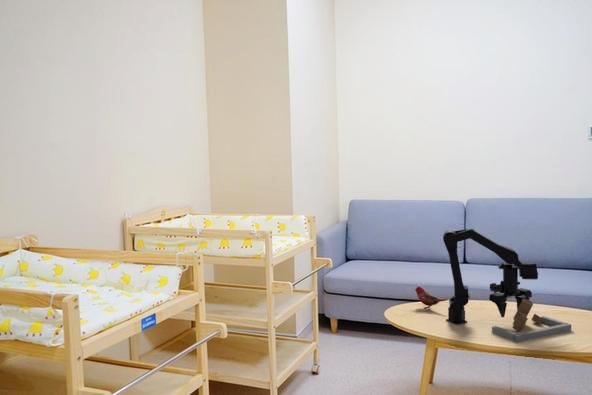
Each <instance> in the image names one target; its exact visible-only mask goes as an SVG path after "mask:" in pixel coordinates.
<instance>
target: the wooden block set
mask: <svg viewBox="0 0 592 395" xmlns="http://www.w3.org/2000/svg"><path fill="white" fill-rule="evenodd" d="M533 306H534V302H532V301H531V300H530V299H529V300H528V299H523V300H522V302H521V304H520V306H519V308H518V310H517V309H516V312H515V314H514V316H513V323H512V329H513V330H515V331H516V332H518V333H521V332H522V330H523V329H524V327H525V326H526V323H527V321H528V315H529V314H530V312H531V309H532V308H533ZM541 317H542V316H539V315H537V314H536V313H534V314H533V316H532V317H531V320H530V321H532V322H533V323H534V324H535V323H536V324H537V325H539V324H540V323H541Z"/></svg>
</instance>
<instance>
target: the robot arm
mask: <svg viewBox="0 0 592 395" xmlns="http://www.w3.org/2000/svg"><path fill="white" fill-rule="evenodd" d="M442 239H443V242H444V246H445V248H446V251H447V253H448V257H449V264H450V268H451V273H452V274H451V275H452V280H453V296H452V297H451V298H450V299H449V300H448V302H449V307H447V309H448V310H447V312H448V313H447V316H448V317H447V318H446V319H445V321H446V322H448V323H452V324H453V325H460V324H464V323H467V322H468V321H467V320H466V310H465V306H467V305H468V303H469V299H470V298H471V296H470V294H469V286H468V285H464V282H463V277H462V273H461V272H462V271H461V267H460V266H461V265H460V261H459V256H458V242H462V241H466V240H469V239H470V240H472V241H474V242H476V243H478V244H479V245H481V246H482V247H485V248H486V249H488V250H489V251H491V252H493V253H495V255H496V256H498V258H500V259H501V260H502V262H501V263H500V264H499V265H497V268H498V269H499V270H502V280H500V283H499V284H497V283H496V282H494V283H493V282H492V283H490V284H489V290H490V291H491V292H492V293H490V294H489V295H488V296H489V300H488V301H489V302H490V301H491V302H492V303H493V304H494V305H496V307H497V309H498V312H499V315H500V317H501V318H504V317H505V314H506V310H507V305H508V303H507V299H511V298H514V299H515V301H516V311H517V310H518V308H519V306H520V304H521V302H522V300H523V299H528V300H530V299H531V298H532V297H533V292H532V291H531V290H530V289H526V288H523V287H520V288H519V286H520V285H521V281H519V278H521V280H531V281H533V280H538V278H539V272H538V266H537V263H536V262H529V263H526V262H524V263H522V261H521V260H520V259H519V254H518V253H517V251H515V249H513V248H510V247H507V246H505V245H501V244H499V243H497V242H495V241H493V240H492V239H490V238H488V237H487V236H485V235H484V234H481V233H480V232H478V231H476V230H475V229H474V228H471V227H469V228H466V229H465V228H464V229H458V230H454V231H453V230H446V231H444V232H443V234H442ZM503 261H504V262H505V263H503ZM513 265H514V266H513ZM518 276H519V277H518Z"/></svg>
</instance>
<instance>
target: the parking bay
mask: <svg viewBox="0 0 592 395" xmlns="http://www.w3.org/2000/svg"><path fill="white" fill-rule="evenodd" d="M540 317H541V322H540V323H541V324H544V325H546V326H548V327H543V328H538V329H533V330H530V331H525V332H518V333H516V332H514V331H511V330H508V329H505V328H504V327H503V328H502V327H499V326H497V325H492V326H491V333H492V334H494V335H497V336H499V337H502V338H505V339H507V340H509V341H512V342H515V343H517V344H518V343H522V342H527V341H531V340H535V339H539V338H544V337H549V336H553V335H559V334H562V333H563V334H564V333H566V332H572V324H571V323H569V322H568V323H567V322H564V321H561V320H558V319H554V318H551V317H549V316H545V315H542V316H540Z"/></svg>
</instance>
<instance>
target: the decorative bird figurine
mask: <svg viewBox="0 0 592 395" xmlns="http://www.w3.org/2000/svg"><path fill="white" fill-rule="evenodd" d="M414 291H416V292H415V293H416V295H417V297H418V300H419V302H421V303H422V304H423V305H425V306H423V308H424V309H428V310H431V307H432V306H435V305H437V304H439V303H441V302H446V301H448V299H445V298H443V299H442V298H438V297H436V296H435V295H433V294H431V293H429V292H427V291H426V290H425V289H424V288H423V287H421V286H417V287H416V288H415V289H414Z"/></svg>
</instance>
